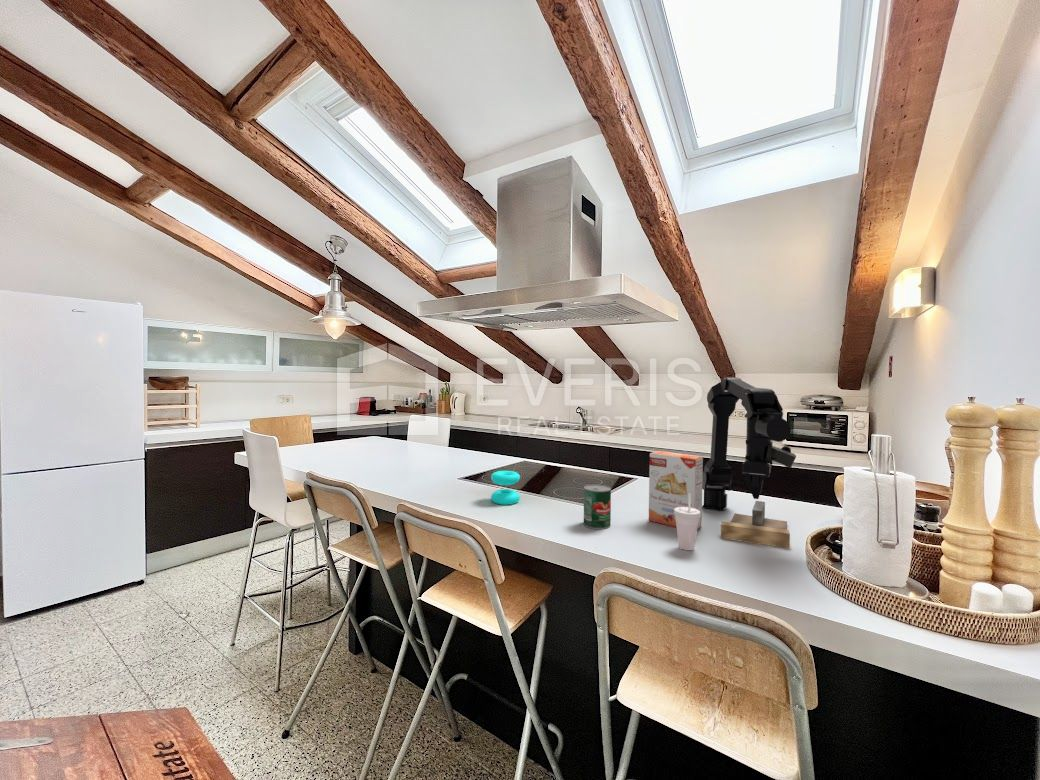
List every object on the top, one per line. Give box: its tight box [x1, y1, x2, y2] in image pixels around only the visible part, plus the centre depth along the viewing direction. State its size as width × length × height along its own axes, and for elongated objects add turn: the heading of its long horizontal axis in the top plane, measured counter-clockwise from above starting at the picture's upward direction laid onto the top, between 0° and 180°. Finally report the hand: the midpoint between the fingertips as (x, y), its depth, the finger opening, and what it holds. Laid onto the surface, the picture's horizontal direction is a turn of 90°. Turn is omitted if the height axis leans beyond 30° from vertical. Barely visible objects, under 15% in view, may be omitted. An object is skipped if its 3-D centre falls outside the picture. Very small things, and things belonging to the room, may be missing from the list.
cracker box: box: [648, 450, 704, 530], centre depth 131 cm, size 14×6×21 cm, turn 47°
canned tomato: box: [583, 484, 612, 530], centre depth 130 cm, size 8×8×11 cm
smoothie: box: [674, 493, 701, 551], centre depth 113 cm, size 6×6×14 cm
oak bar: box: [720, 520, 791, 549], centre depth 118 cm, size 16×3×4 cm, turn 64°
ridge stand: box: [730, 500, 788, 530], centre depth 130 cm, size 14×12×6 cm
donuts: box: [490, 470, 521, 506], centre depth 154 cm, size 10×10×10 cm
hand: (757, 494), depth 118 cm, fingers open, 9 cm apart
